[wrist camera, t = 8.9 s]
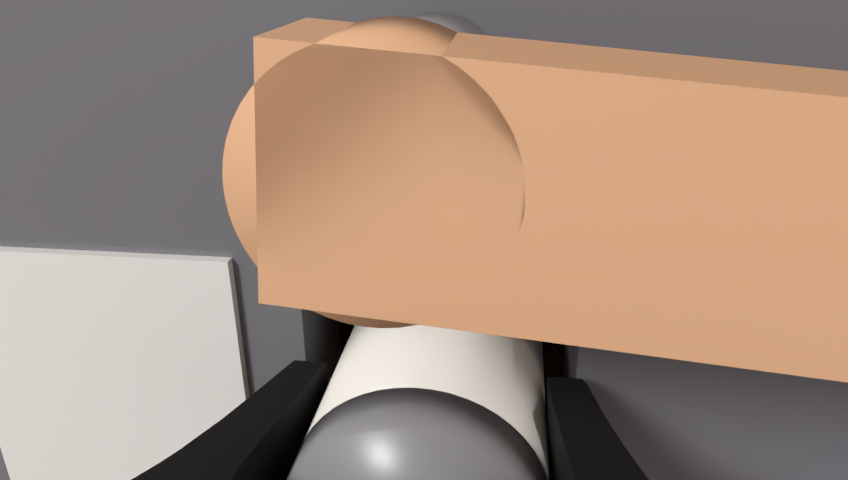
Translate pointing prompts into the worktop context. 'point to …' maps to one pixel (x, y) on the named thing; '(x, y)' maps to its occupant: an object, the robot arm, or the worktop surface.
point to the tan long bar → (547, 192)
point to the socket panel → (238, 275)
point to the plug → (430, 409)
